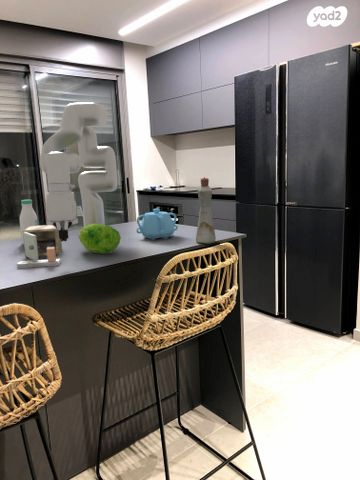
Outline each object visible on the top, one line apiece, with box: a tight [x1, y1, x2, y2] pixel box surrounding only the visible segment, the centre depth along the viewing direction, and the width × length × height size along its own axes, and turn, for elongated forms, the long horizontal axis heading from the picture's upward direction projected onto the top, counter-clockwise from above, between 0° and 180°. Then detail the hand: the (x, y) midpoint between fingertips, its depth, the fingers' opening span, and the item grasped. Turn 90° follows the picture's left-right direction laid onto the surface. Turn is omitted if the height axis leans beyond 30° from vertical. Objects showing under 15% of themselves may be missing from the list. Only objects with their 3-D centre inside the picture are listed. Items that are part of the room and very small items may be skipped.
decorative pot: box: [136, 208, 179, 241], centre depth 182 cm, size 16×16×14 cm
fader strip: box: [16, 258, 61, 269], centre depth 139 cm, size 14×4×2 cm, turn 99°
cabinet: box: [24, 224, 63, 257], centre depth 158 cm, size 12×10×10 cm
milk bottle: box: [19, 199, 39, 245], centre depth 177 cm, size 8×8×20 cm
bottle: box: [195, 176, 217, 245], centre depth 166 cm, size 9×9×28 cm
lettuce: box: [78, 224, 122, 255], centre depth 154 cm, size 13×23×12 cm, turn 44°
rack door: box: [23, 231, 40, 261], centre depth 147 cm, size 12×2×10 cm, turn 39°
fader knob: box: [46, 247, 57, 261], centre depth 139 cm, size 2×3×5 cm
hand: (64, 240), depth 138 cm, fingers closed
